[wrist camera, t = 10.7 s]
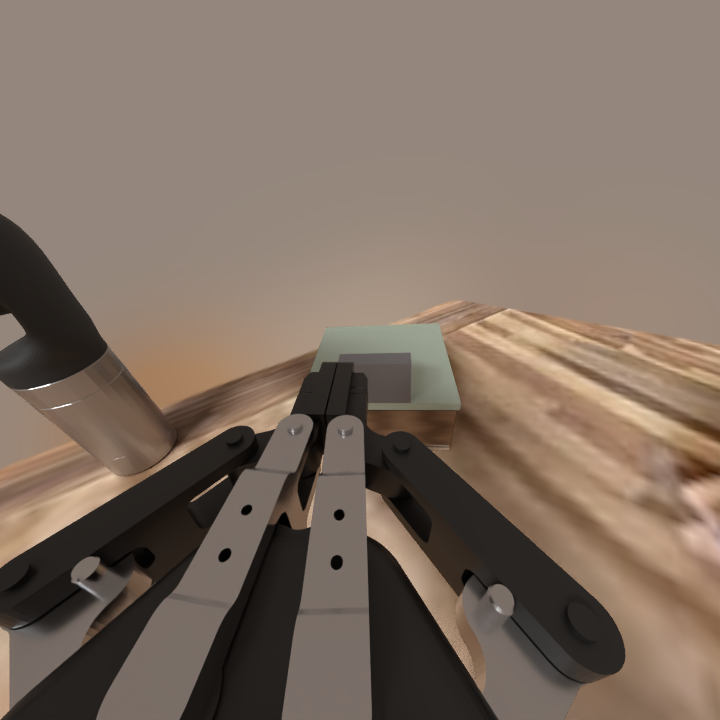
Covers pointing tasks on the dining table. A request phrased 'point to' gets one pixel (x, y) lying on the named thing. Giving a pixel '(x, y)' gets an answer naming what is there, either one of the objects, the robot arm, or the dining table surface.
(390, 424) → the chest
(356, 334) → the lid
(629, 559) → the dining table surface
